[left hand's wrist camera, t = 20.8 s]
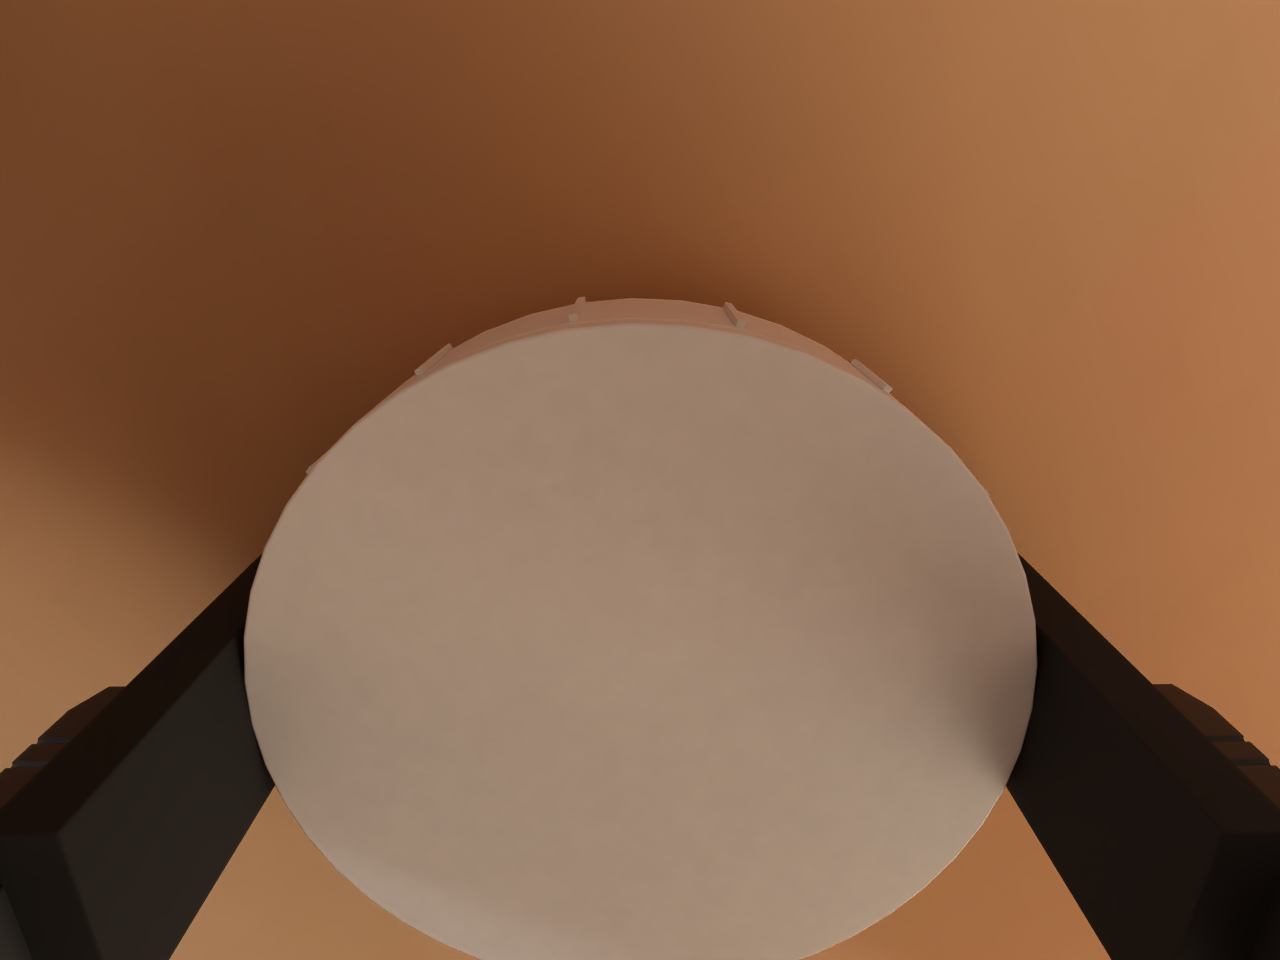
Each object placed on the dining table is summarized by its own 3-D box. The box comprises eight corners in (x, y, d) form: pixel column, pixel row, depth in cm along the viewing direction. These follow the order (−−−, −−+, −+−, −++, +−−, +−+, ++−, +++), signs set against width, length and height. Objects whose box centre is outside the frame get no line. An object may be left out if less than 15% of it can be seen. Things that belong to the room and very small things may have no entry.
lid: (1123, 511, 12) (1222, 577, 10) (750, 954, 15) (767, 1070, 13) (475, 140, 10) (433, 129, 8) (218, 741, 13) (143, 839, 11)
